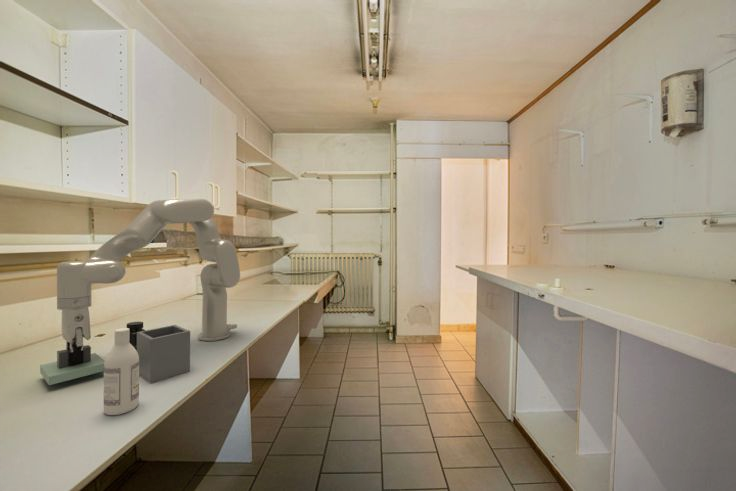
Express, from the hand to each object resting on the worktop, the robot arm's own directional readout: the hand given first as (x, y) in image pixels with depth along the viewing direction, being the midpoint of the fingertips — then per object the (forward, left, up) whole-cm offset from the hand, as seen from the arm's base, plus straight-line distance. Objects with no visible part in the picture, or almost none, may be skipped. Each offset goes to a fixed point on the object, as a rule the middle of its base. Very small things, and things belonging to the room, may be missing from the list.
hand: (74, 362), depth 94 cm
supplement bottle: (-17, -6, -5) cm, 19 cm away
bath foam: (-3, +31, -5) cm, 31 cm away
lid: (0, 0, -3) cm, 3 cm away
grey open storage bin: (-18, +16, -5) cm, 24 cm away
